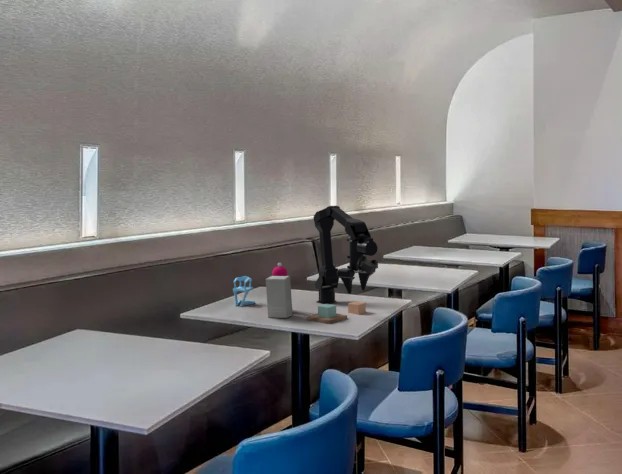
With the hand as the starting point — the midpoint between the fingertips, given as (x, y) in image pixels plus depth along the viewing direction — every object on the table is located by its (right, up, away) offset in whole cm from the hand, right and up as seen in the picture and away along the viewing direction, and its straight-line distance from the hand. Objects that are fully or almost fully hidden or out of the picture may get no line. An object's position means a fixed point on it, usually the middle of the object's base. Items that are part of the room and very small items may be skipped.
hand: (356, 291), depth 241 cm
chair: (-48, -7, +19) cm, 52 cm away
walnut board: (-12, -10, -10) cm, 18 cm away
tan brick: (0, -9, +1) cm, 9 cm away
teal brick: (-12, -8, -10) cm, 18 cm away
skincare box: (-31, -9, -5) cm, 32 cm away
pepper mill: (-31, -9, +4) cm, 32 cm away
